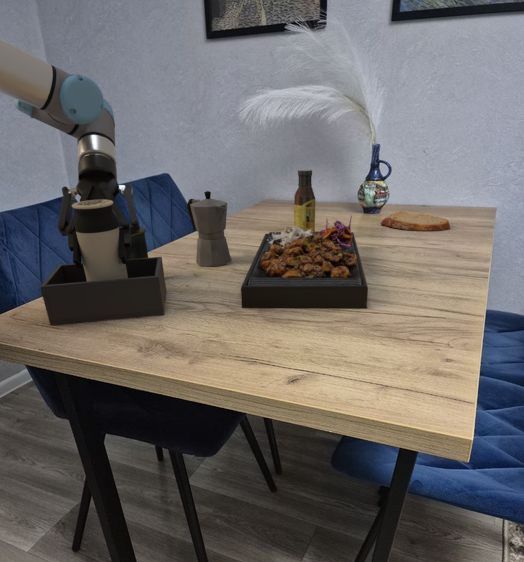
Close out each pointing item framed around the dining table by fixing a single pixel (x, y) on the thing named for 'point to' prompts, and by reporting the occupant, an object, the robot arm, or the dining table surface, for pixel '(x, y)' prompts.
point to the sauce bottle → (304, 202)
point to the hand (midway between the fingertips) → (100, 262)
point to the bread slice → (416, 222)
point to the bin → (105, 293)
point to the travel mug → (99, 240)
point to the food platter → (306, 270)
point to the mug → (137, 245)
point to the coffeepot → (210, 230)
